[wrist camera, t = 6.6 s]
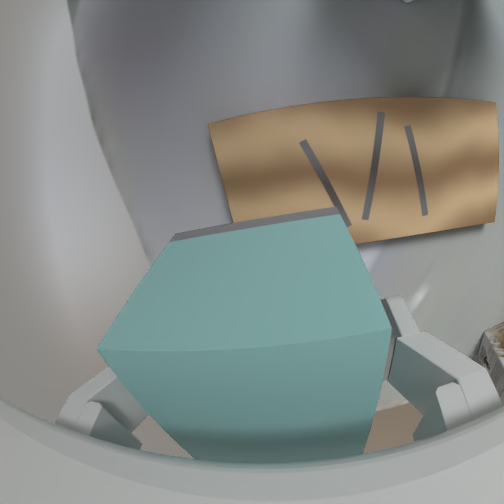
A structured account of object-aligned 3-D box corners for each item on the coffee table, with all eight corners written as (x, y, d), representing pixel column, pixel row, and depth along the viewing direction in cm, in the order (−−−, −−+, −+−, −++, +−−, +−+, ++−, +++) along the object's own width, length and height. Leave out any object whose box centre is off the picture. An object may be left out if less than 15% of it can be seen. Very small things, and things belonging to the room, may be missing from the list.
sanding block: (175, 233, 9) (96, 349, 4) (336, 206, 8) (391, 327, 4) (225, 359, 12) (203, 465, 7) (343, 348, 11) (360, 460, 6)
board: (212, 123, 21) (207, 124, 20) (486, 101, 16) (495, 102, 15) (245, 252, 26) (243, 261, 25) (486, 216, 22) (494, 222, 20)
